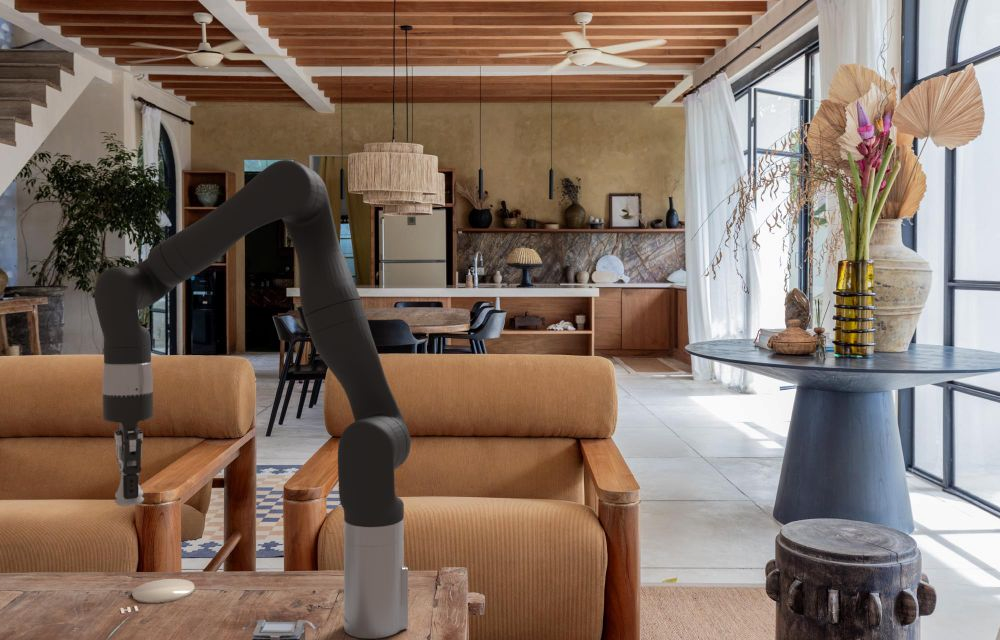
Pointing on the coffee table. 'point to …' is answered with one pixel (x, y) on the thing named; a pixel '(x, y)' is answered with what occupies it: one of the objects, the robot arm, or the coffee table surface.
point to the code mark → (128, 609)
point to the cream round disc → (163, 590)
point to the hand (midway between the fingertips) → (129, 494)
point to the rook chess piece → (119, 494)
